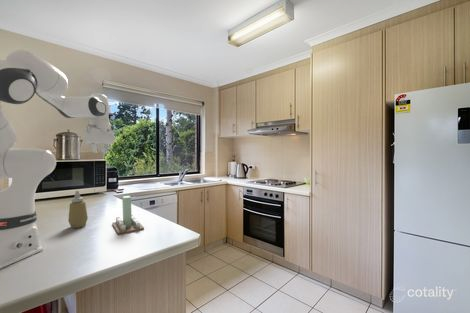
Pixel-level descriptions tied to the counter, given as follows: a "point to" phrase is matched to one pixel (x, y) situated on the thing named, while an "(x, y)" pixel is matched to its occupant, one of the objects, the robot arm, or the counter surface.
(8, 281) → the counter surface
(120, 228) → the walnut channel board
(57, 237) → the counter surface
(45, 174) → the robot arm
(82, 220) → the squeeze bottle
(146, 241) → the counter surface
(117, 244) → the counter surface
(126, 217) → the sage slat
